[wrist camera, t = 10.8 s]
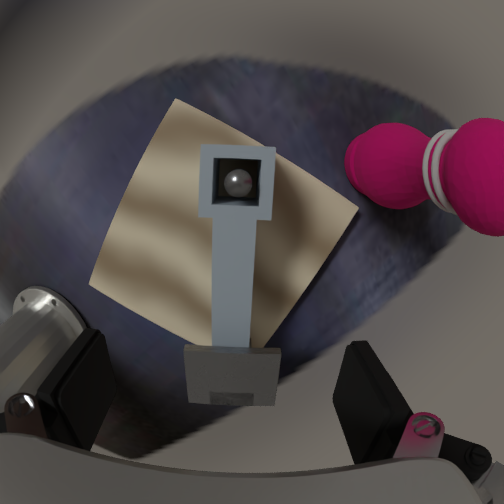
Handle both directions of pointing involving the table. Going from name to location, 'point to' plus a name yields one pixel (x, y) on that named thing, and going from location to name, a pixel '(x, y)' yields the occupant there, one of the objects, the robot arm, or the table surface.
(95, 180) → the table surface
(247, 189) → the post
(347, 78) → the table surface
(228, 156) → the link
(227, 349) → the block
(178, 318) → the base board
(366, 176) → the pepper mill
